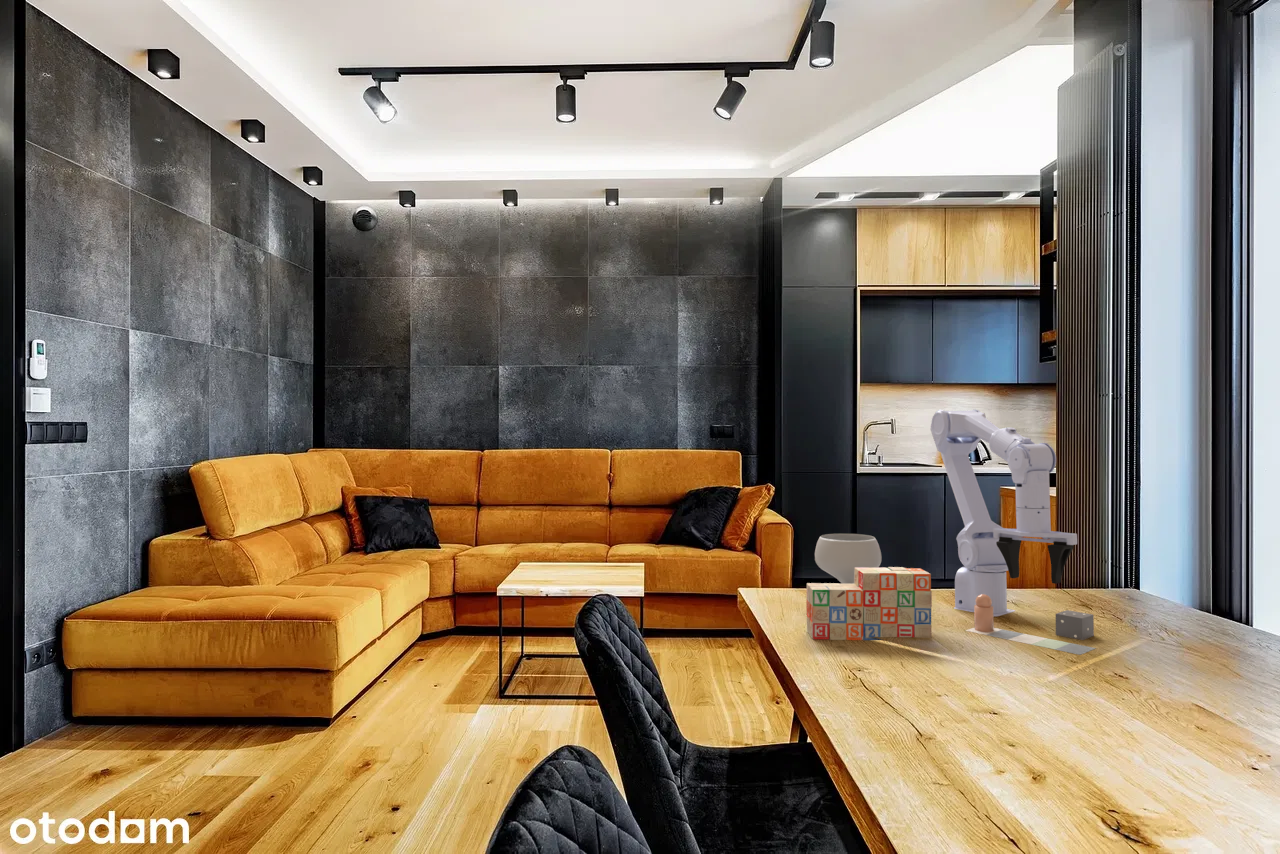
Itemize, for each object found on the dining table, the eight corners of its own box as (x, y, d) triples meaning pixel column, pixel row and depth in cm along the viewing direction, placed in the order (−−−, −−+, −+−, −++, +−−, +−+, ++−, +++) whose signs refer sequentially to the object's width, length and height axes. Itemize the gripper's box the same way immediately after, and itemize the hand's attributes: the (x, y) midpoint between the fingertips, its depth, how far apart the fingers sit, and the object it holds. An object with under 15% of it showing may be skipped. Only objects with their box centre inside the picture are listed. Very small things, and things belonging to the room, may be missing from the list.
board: (965, 633, 140) (965, 630, 140) (982, 628, 143) (982, 625, 143) (1080, 658, 124) (1080, 654, 124) (1096, 651, 127) (1096, 648, 127)
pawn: (971, 629, 140) (970, 594, 140) (980, 626, 142) (979, 591, 142) (987, 633, 138) (987, 596, 138) (997, 630, 140) (996, 594, 140)
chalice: (868, 598, 171) (867, 532, 171) (892, 612, 157) (891, 540, 157) (807, 600, 170) (806, 533, 170) (826, 614, 156) (825, 541, 156)
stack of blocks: (812, 640, 136) (811, 572, 137) (806, 631, 143) (805, 566, 143) (932, 641, 135) (931, 572, 135) (921, 632, 141) (920, 566, 142)
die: (1055, 638, 136) (1055, 613, 136) (1067, 634, 139) (1067, 609, 139) (1082, 644, 132) (1082, 618, 132) (1094, 639, 135) (1094, 614, 135)
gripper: (984, 506, 145) (986, 577, 145) (1064, 510, 134) (1066, 588, 133) (1002, 504, 149) (1004, 573, 149) (1081, 508, 138) (1083, 583, 137)
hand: (1035, 580), depth 141 cm, fingers open, 7 cm apart
